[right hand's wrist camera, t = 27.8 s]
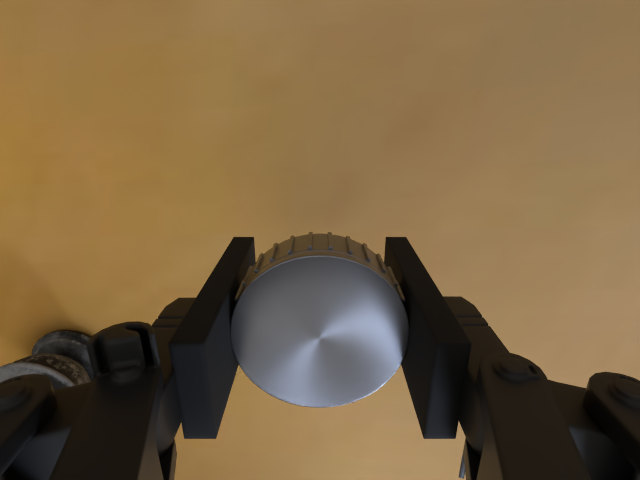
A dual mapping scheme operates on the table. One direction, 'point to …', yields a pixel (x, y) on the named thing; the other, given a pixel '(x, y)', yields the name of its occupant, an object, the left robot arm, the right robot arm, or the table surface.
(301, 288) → the lid
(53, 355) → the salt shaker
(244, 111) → the table surface
